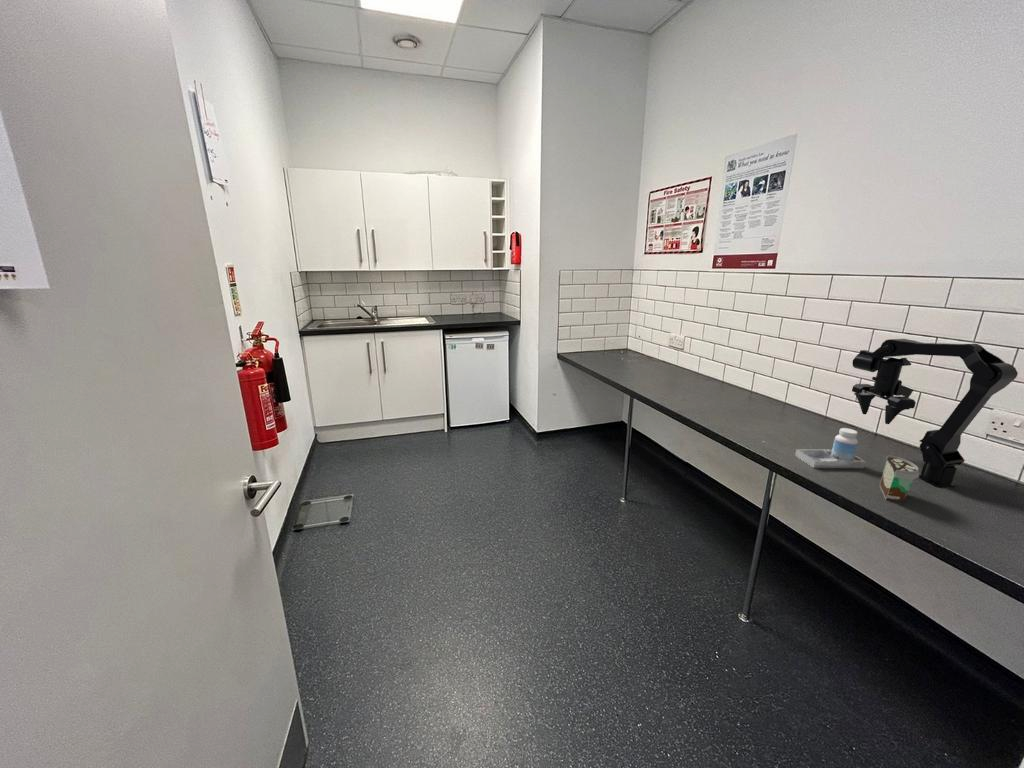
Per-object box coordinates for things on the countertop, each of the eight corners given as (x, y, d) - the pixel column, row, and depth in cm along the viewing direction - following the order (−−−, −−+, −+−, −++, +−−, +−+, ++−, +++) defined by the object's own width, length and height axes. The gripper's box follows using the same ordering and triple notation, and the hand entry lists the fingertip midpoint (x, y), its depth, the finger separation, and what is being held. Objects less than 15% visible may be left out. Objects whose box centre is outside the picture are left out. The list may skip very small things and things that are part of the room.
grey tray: (863, 468, 137) (865, 461, 136) (813, 468, 136) (815, 461, 136) (842, 455, 146) (844, 449, 145) (795, 455, 145) (796, 449, 144)
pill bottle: (856, 466, 138) (864, 435, 134) (835, 464, 139) (843, 433, 135) (845, 458, 143) (853, 428, 140) (826, 456, 144) (833, 426, 141)
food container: (915, 509, 114) (926, 476, 112) (886, 502, 118) (896, 470, 115) (905, 489, 125) (914, 459, 122) (878, 483, 128) (887, 454, 125)
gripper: (938, 383, 131) (924, 429, 136) (886, 369, 149) (874, 409, 154) (904, 383, 131) (890, 429, 135) (856, 368, 149) (845, 409, 153)
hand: (875, 418), depth 144 cm, fingers open, 9 cm apart
